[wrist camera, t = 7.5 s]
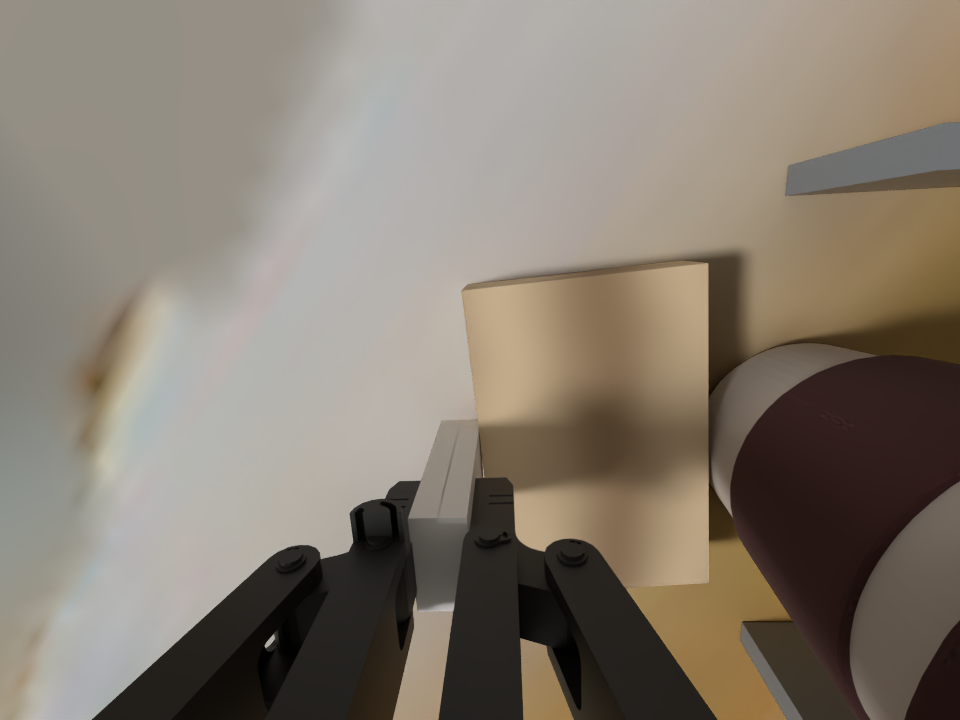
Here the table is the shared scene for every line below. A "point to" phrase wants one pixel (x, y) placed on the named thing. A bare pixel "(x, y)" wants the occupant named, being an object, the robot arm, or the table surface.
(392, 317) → the table surface
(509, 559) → the robot arm
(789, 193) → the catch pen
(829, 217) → the table surface
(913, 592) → the coffee cup
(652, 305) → the board
